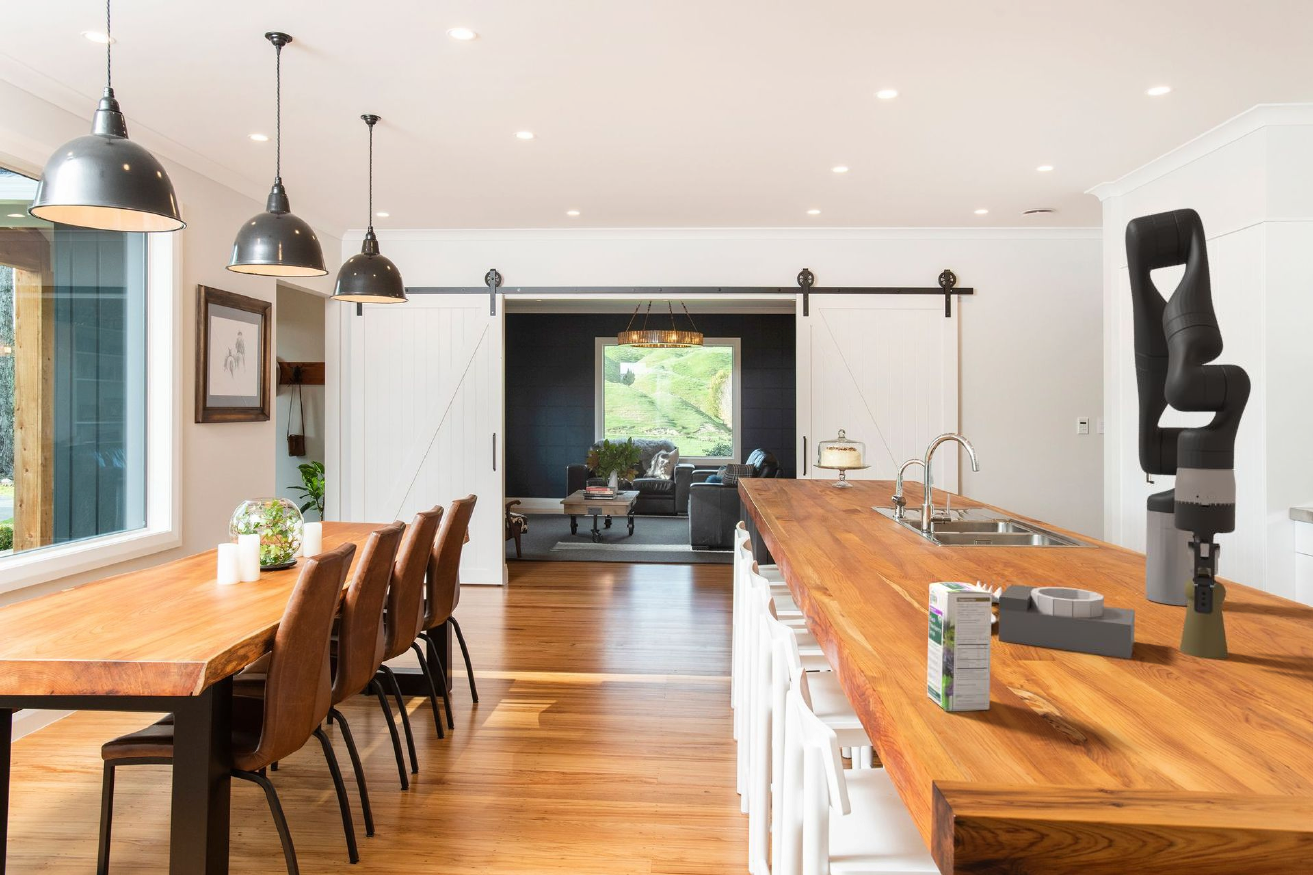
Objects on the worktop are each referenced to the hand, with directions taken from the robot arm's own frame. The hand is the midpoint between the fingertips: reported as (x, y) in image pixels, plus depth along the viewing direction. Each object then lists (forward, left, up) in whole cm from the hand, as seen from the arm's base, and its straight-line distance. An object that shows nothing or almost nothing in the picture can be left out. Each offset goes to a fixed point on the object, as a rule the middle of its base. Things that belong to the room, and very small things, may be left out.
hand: (1202, 607), depth 121 cm
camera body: (+4, -18, -7) cm, 19 cm away
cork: (0, 0, -7) cm, 7 cm away
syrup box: (+42, -26, -7) cm, 50 cm away
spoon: (-8, -33, -7) cm, 35 cm away
